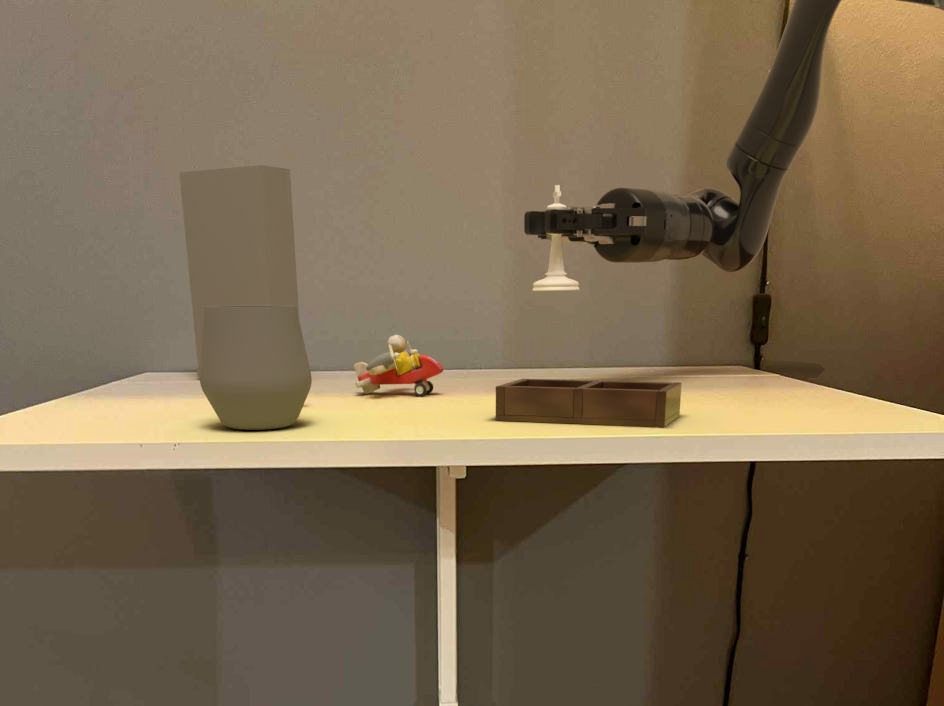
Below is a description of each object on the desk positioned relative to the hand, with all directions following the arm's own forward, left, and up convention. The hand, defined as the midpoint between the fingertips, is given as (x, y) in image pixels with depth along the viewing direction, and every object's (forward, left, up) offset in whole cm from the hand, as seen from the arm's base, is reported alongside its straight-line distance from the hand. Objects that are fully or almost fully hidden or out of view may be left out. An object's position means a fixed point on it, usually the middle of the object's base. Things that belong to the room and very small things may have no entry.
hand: (537, 222), depth 98 cm
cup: (+17, +27, -18) cm, 37 cm away
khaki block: (+43, -13, -18) cm, 48 cm away
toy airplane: (+17, -1, -18) cm, 24 cm away
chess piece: (-1, -3, -7) cm, 7 cm away
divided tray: (-9, +13, -17) cm, 24 cm away
